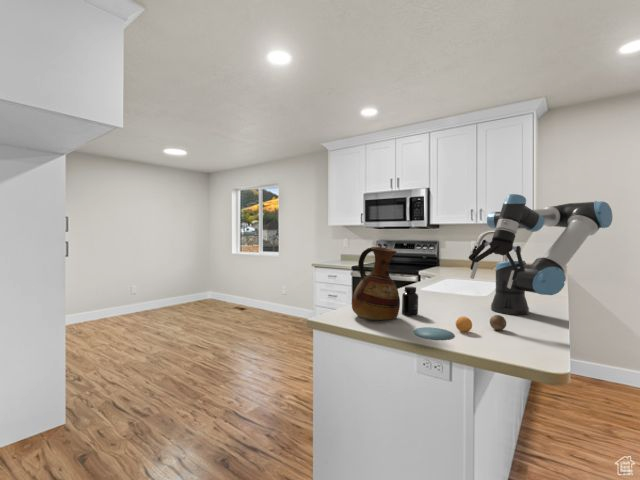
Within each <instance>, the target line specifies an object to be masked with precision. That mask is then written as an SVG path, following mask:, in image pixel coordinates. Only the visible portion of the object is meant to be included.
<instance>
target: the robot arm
mask: <svg viewBox="0 0 640 480" xmlns="http://www.w3.org/2000/svg"><path fill="white" fill-rule="evenodd" d="M526 204H527V199H526V197H525V196H524V195H522V194H515V193H512V194H507V195H506V196H505V198H504V201H503V202H502V206H501V210H500V211H493V212H490V213H489V214H488V215H487V216H486V223H487V226H488V227H489V228H491V229H495V230H494V232H493V235H492V237H491V238H492V239H491V241H488V240H486V239H483V240H482V241H481V243H480V244H479V246H478V247H477V248H476V249H475V250H473V252H471V254H470V255H469V256H468V259H469V260H470V261H471V264H470V270H471V273H470V279H472V280H474V279H475V277H476V273H477V270H478V267H479V263H478V262H480V261H482V260H483V259H485V258H487V257H489V255H492V254H495V255H500V256H506V258H507V259H508V260H507V261H499V262H497V263H496V267H495V293H494V296H493V299H492V302H491V305H490V310H491V311H493V312H495V313H500V314H505V315H512V316H521V315H522V316H524V315H528V314H529V313H530V307H529V306H528V302H527V298H526V295H525V294H526V292H529V293H533V294H539V295H541V296H554V295H556V294H559V293H560V292H561V291H562V290H563V289H564V287H565V286H566V285H565V282H566V281H567V279H566V274H565V268H566V266H567V265H568V263H569V262H570V261H571V259H572V258H573V257H574V255H575V254H576V253H577V251H579V248H580V247H581V246H582V245H583V243H584V242H585V241H586V240H587V238H588V237H589V236H593V235H595V234H596V233H598V231H599V230H600V229H606V228H609V227H610V226H611V225H612V222H613V210H612V208H611V206H610V205H609V203H608V202H606V201H597V200H596V201H595V200H594V201H586V202H571V203H568V202H567V203H564V204H558V205H553V206H546V207H544V208H540V209H539V208H537V209H532V208H529V207H528V206H527V205H526ZM544 226H545V227H550V228H551V227H558V228H564V230H563V231H562V232H561V234H560V235H559V236H558V238H557V239H556V240H555V241H554V242H553V243H552V245H551V246H550V248H549V249H548V250H547V251H546V253H545V254H544V255H543V256H540V257H537V258H536V259H535V260H534V261H533V262H532V263H531V264H527V263H526V261H525V260H523V257H522V253H521V252H522V247H521V246H520V245H516V246H515V245H514V242H515V239H516V234H517V233H518V229H525V230H526V231H529V232H532V233H534V232H538V231H540V230H541V229H542V228H543V227H544ZM488 246H489V247H488ZM486 247H488V248H487V249H486ZM484 249H486V250H485V251H483V250H484ZM482 251H483V252H482ZM511 251H514V252H515V253H516V254H515V255H516V259H517V260H514V259H513V257H512V256H511V254H510V252H511ZM481 252H482V253H481Z"/></svg>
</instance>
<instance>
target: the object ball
mask: <svg viewBox="0 0 640 480" xmlns="http://www.w3.org/2000/svg"><path fill="white" fill-rule="evenodd" d="M455 327H456V329H457V330H458V331H459V332H462V333H468V332H470V331H471V330H472V328H473V322H472V320H471V319H470V318H468V317H466V316H460V317H458V318H456V321H455Z"/></svg>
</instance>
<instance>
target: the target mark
mask: <svg viewBox="0 0 640 480" xmlns="http://www.w3.org/2000/svg"><path fill="white" fill-rule="evenodd" d="M412 332H413V333H412V334H414V335H415V336H417V337H419V338H423V339H427V340H434V341H444V340H445V341H447V339H448V340H451V338H452V339H454V338H455V334H454V332H452V331H450V330H447V329H443V328H439V327H429V326H428V327H426V326H425V327H417V328H415V329H413V330H412ZM453 337H454V338H453Z"/></svg>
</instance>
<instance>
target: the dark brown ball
mask: <svg viewBox="0 0 640 480" xmlns="http://www.w3.org/2000/svg"><path fill="white" fill-rule="evenodd" d="M489 325H490V327H491V328H492V329H493V330H496V331H502V330H504V329H505V328H506V327H507V320H506V318H504V317H503V315H500V314H495V315H493V316H491V317H490V319H489Z"/></svg>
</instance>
